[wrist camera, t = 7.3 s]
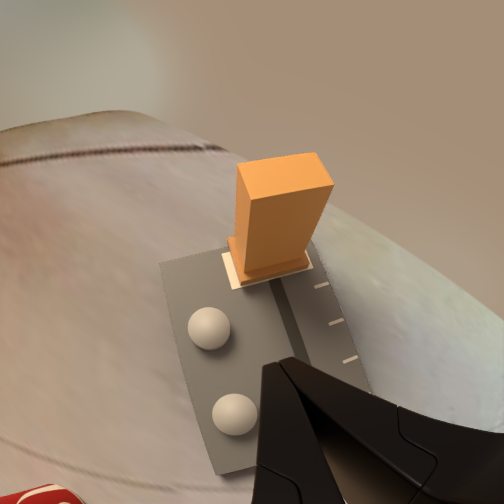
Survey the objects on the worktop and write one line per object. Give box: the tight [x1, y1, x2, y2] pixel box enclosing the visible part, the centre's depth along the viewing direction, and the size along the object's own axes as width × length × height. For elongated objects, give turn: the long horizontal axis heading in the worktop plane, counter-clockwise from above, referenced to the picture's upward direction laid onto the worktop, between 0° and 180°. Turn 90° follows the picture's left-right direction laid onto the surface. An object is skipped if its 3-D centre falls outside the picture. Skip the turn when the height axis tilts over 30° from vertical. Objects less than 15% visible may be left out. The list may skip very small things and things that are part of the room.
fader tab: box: [227, 152, 334, 286], centre depth 19 cm, size 4×5×9 cm
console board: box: [159, 239, 372, 475], centre depth 20 cm, size 16×12×2 cm
